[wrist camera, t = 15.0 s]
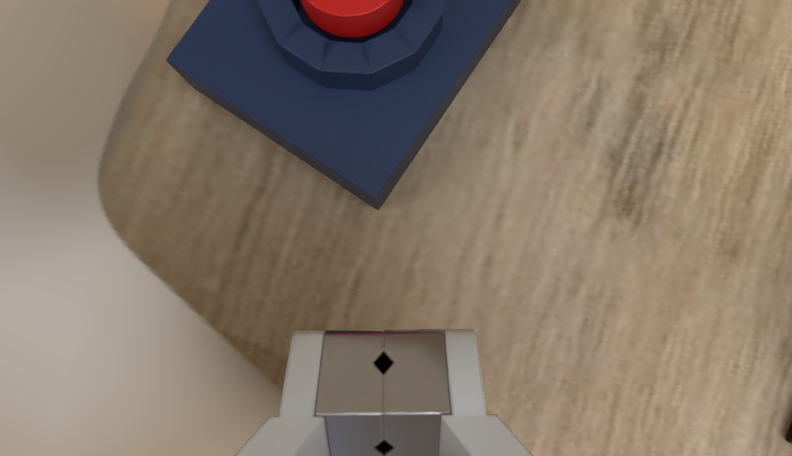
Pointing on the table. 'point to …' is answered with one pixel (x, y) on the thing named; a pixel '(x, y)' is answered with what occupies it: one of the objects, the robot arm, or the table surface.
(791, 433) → the switch bracket
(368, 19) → the stop button
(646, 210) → the table surface
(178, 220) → the table surface
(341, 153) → the stop box
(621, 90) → the table surface
